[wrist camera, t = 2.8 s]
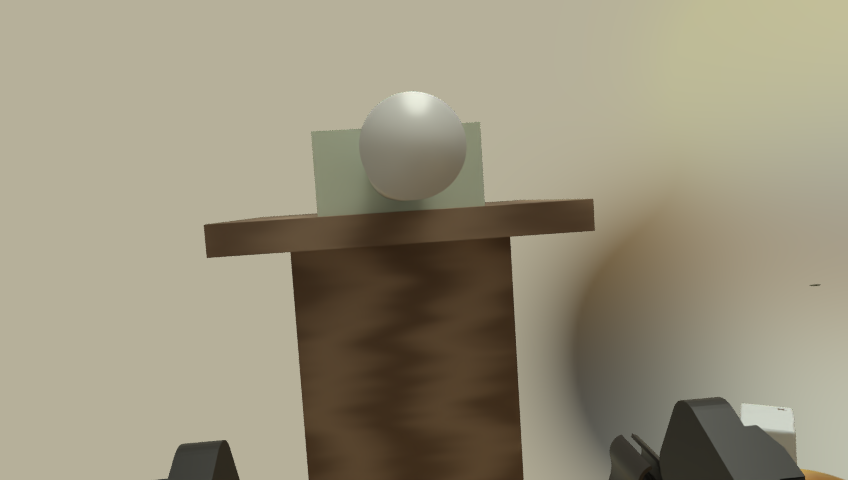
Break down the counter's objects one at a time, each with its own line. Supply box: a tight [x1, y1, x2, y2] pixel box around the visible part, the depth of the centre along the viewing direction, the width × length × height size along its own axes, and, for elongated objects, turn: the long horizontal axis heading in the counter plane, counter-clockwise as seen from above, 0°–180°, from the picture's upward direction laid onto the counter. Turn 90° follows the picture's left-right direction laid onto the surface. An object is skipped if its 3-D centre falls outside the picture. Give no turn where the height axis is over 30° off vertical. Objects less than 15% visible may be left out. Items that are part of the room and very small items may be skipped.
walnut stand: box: [204, 199, 595, 480], centre depth 36 cm, size 18×14×32 cm
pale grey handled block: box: [311, 92, 485, 217], centre depth 27 cm, size 8×20×4 cm, turn 4°
